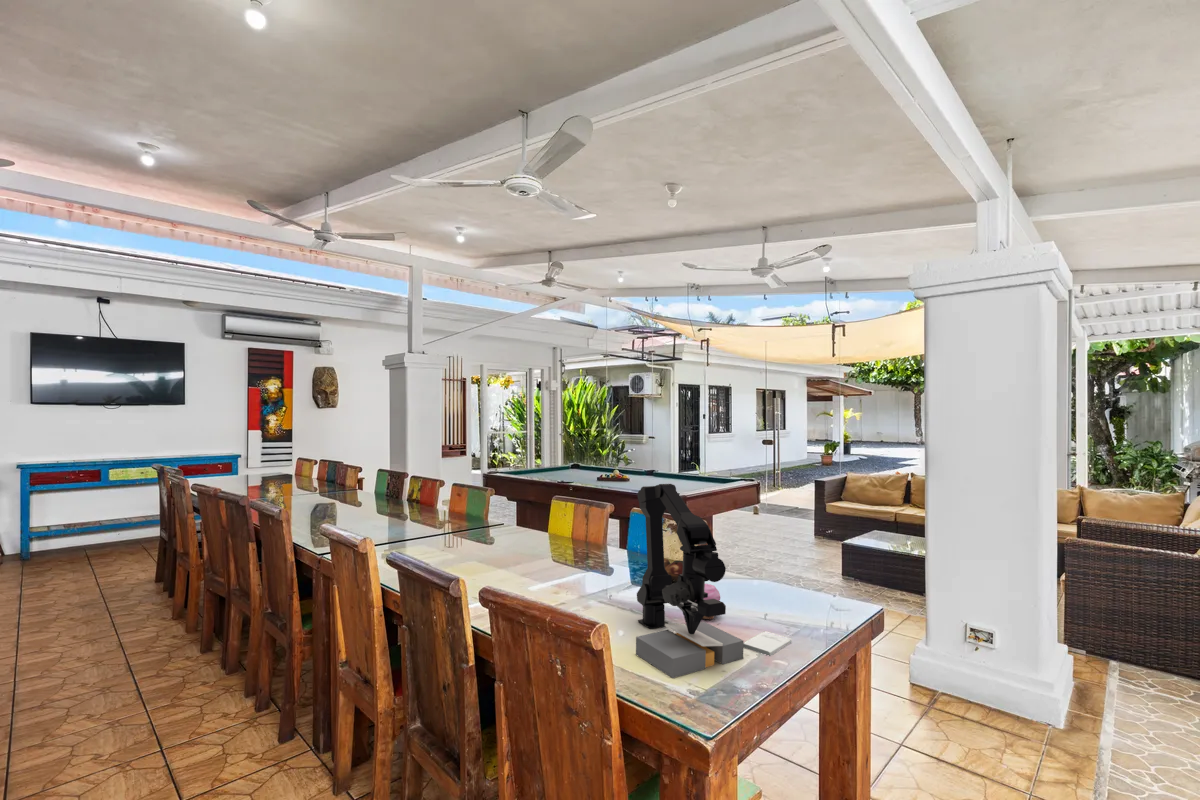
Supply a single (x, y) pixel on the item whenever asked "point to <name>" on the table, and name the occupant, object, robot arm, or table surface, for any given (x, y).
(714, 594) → the cupcake
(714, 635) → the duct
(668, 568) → the decorative turtle
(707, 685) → the table surface
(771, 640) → the external hard drive
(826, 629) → the table surface
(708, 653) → the orange bar
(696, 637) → the panel
